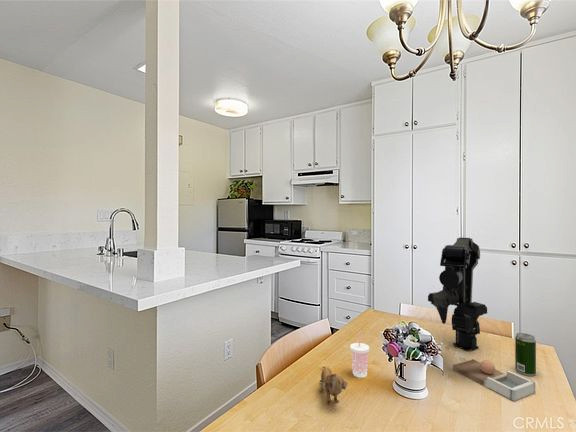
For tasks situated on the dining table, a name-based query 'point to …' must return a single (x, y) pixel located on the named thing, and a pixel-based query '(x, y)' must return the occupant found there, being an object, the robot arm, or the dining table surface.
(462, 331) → the robot arm
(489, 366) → the ball
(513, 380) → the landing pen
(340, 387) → the lion figurine
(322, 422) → the dining table surface
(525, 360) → the beer can
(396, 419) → the dining table surface
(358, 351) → the beverage cup
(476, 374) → the runway
